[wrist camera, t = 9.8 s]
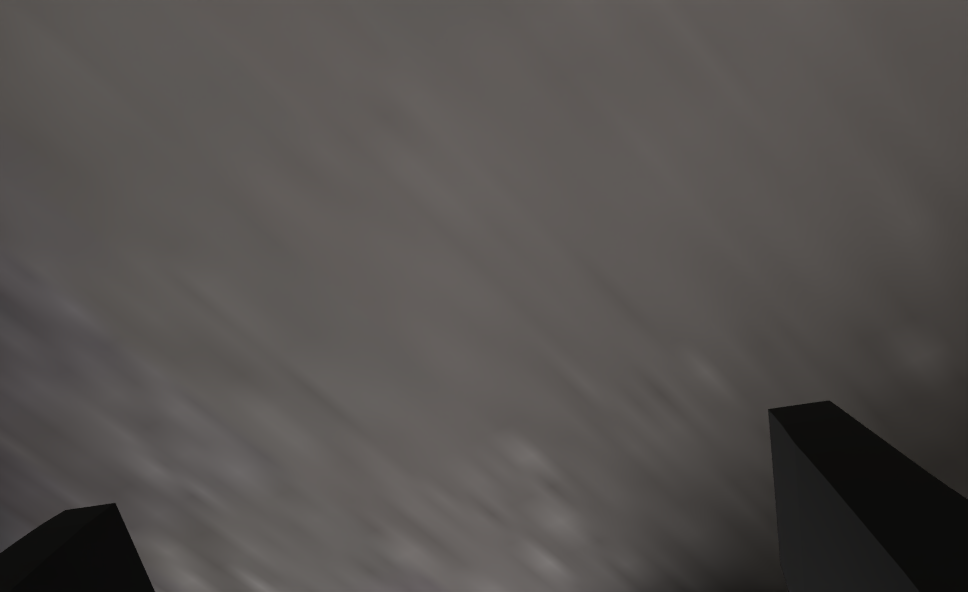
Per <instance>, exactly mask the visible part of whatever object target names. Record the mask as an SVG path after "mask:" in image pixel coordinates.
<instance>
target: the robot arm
mask: <svg viewBox="0 0 968 592" xmlns="http://www.w3.org/2000/svg"><path fill="white" fill-rule="evenodd" d="M768 412H769V424H770V437H771V449H772V462H773V475H774V487H775V500H776V512H777V525H778V538H779V550H780V563H781V567H782V571H783V574H784V577H785V581H786V584H787V587H788V590H789V592H968V499H966V498H965V497H963V496H962V495H960V494H959V493H957V492H956V491H954V490H953V489H951V488H950V487H948V486H947V485H945V484H944V483H943V482H941V481H940V480H938V479H937V478H935V477H934V476H933V475H931V474H930V473H928V472H927V471H926V470H924V469H923V468H921V467H920V466H919V465H917V464H916V463H914V462H913V461H912V460H910V459H909V458H907V457H906V456H905V455H903V454H902V453H901V452H899V451H898V450H896V449H895V448H894V447H892V446H891V445H890V444H888V443H887V442H885V441H884V440H883V439H881V438H880V437H879V436H877V435H876V434H875V433H873V432H872V431H871V430H869V429H868V428H866V427H865V426H864V425H862V424H861V423H860V422H858V421H857V420H855V419H854V418H853V417H851V416H850V415H849V414H847V413H846V412H845V411H843V410H842V409H840V408H839V407H838V406H836V405H835V404H833V403H832V402H831V401H822V402H815V403H808V404H801V405H794V406H787V407H780V408H773V409H768ZM0 592H155V591H154V589H153V586H152V584H151V582H150V580H149V577H148V575H147V573H146V571H145V568H144V566H143V564H142V562H141V559H140V557H139V555H138V553H137V550H136V548H135V546H134V544H133V541H132V539H131V537H130V535H129V532H128V530H127V528H126V526H125V524H124V521H123V519H122V517H121V515H120V512H119V510H118V508H117V506H116V503H112V504H105V505H98V506H91V507H84V508H77V509H70V510H65V511H63V512H61V513H60V514H58V515H57V516H55V517H53V518H52V519H50V520H48V521H47V522H45V523H43V524H42V525H40V526H39V527H37V528H36V529H34V530H33V531H31V532H30V533H28V534H27V535H26V536H24V537H23V538H21V539H20V540H18V541H17V542H15V543H14V544H13V545H11V546H10V547H8V548H7V549H6V550H4V551H3V552H1V553H0Z"/></svg>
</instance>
